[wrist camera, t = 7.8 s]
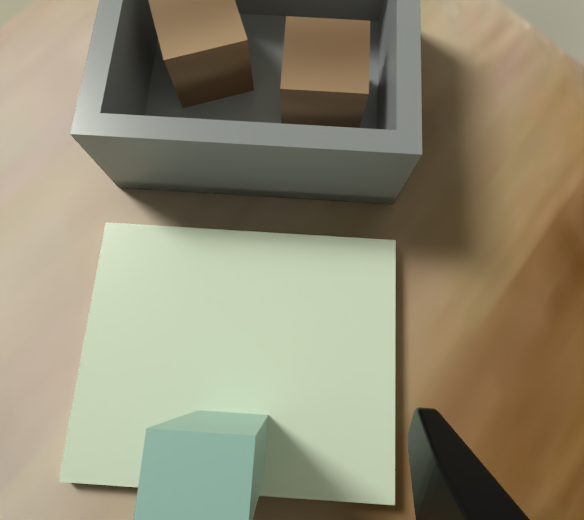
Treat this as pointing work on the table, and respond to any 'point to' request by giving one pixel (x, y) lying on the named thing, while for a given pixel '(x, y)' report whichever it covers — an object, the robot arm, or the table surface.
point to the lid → (236, 371)
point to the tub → (250, 110)
